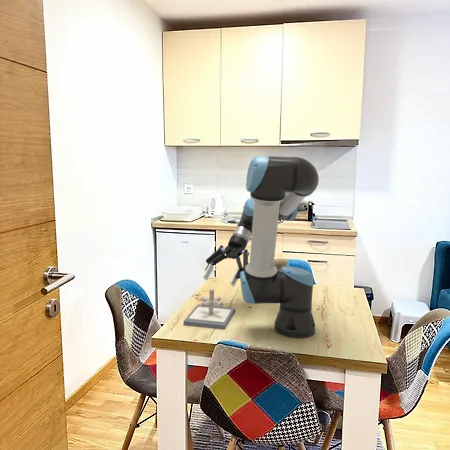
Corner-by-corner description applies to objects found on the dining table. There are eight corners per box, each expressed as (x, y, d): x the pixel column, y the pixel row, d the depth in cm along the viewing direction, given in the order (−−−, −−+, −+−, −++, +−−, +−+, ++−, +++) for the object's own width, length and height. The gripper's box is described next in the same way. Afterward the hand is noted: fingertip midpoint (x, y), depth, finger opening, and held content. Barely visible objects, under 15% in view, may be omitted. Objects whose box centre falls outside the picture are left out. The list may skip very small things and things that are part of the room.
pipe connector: (212, 320, 162) (213, 295, 161) (193, 314, 168) (193, 289, 166) (228, 313, 170) (229, 289, 169) (209, 307, 176) (210, 284, 174)
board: (198, 307, 181) (198, 303, 181) (235, 311, 178) (235, 307, 177) (183, 324, 162) (183, 320, 161) (224, 329, 158) (224, 325, 158)
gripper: (268, 248, 177) (247, 292, 167) (219, 241, 192) (198, 280, 182) (261, 237, 172) (240, 282, 162) (212, 231, 186) (190, 271, 177)
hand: (217, 281), depth 172 cm, fingers open, 13 cm apart
